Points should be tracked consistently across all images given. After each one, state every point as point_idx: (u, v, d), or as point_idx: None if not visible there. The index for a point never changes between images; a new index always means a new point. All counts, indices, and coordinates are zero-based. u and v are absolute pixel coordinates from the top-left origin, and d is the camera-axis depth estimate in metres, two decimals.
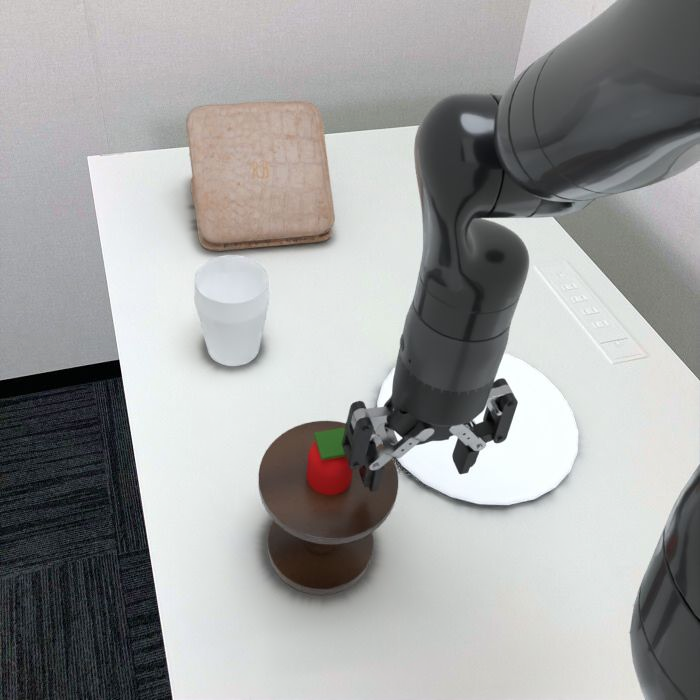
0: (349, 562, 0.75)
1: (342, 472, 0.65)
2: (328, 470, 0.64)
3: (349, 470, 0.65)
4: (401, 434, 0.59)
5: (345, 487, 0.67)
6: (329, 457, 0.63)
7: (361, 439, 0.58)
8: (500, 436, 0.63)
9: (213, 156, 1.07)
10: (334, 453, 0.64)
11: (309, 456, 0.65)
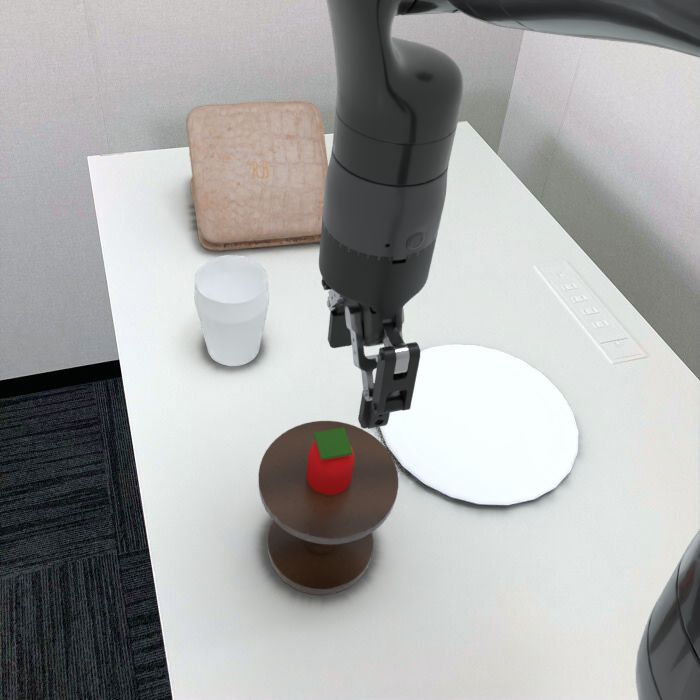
0: (349, 562, 0.75)
1: (342, 472, 0.65)
2: (328, 470, 0.64)
3: (349, 470, 0.65)
4: None
5: (345, 487, 0.67)
6: (329, 457, 0.63)
7: None
8: (375, 402, 0.50)
9: (213, 156, 1.07)
10: (334, 453, 0.64)
11: (309, 456, 0.65)
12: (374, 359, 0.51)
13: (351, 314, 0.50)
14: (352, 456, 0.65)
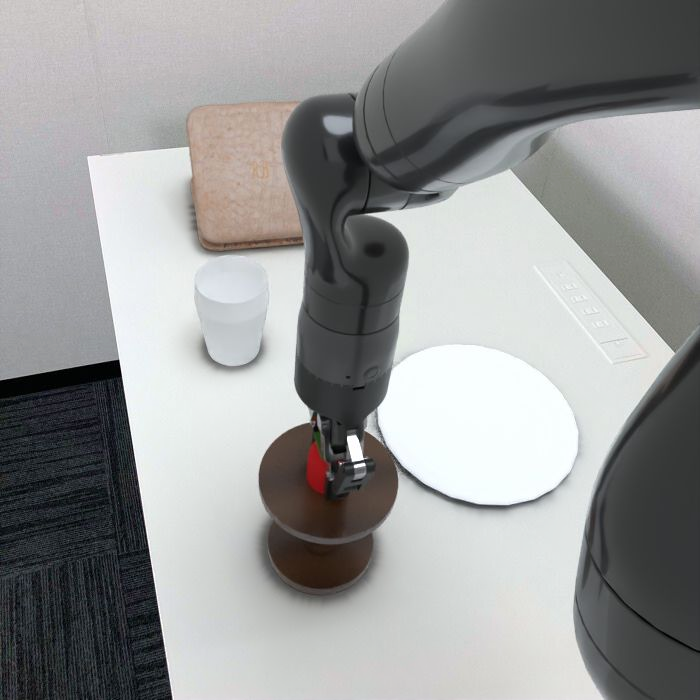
0: (349, 562, 0.75)
1: None
2: None
3: None
4: None
5: None
6: None
7: None
8: (334, 485, 0.61)
9: (213, 156, 1.07)
10: None
11: (309, 456, 0.65)
12: (337, 454, 0.61)
13: (322, 424, 0.59)
14: None
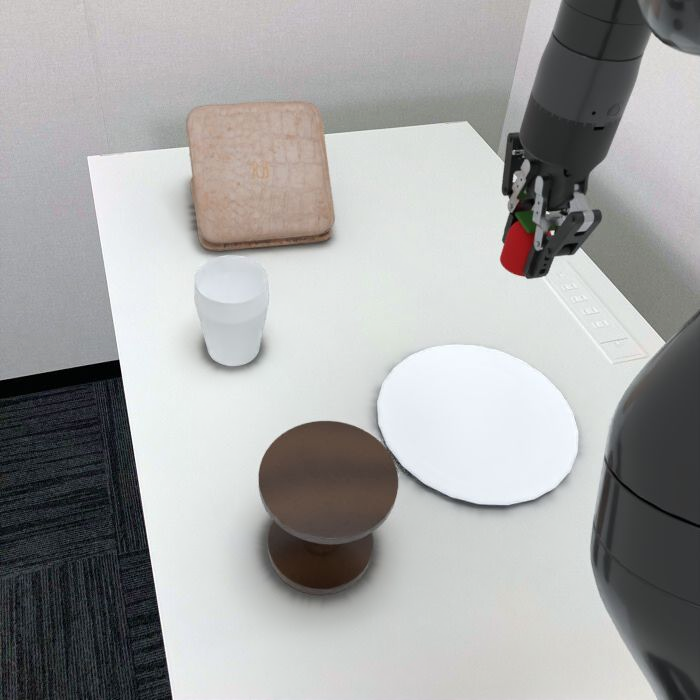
0: (349, 562, 0.75)
1: None
2: (531, 245, 0.68)
3: None
4: None
5: None
6: (535, 230, 0.67)
7: (507, 152, 0.69)
8: (549, 247, 0.64)
9: (213, 156, 1.07)
10: None
11: (510, 236, 0.69)
12: (551, 219, 0.65)
13: (544, 183, 0.63)
14: None
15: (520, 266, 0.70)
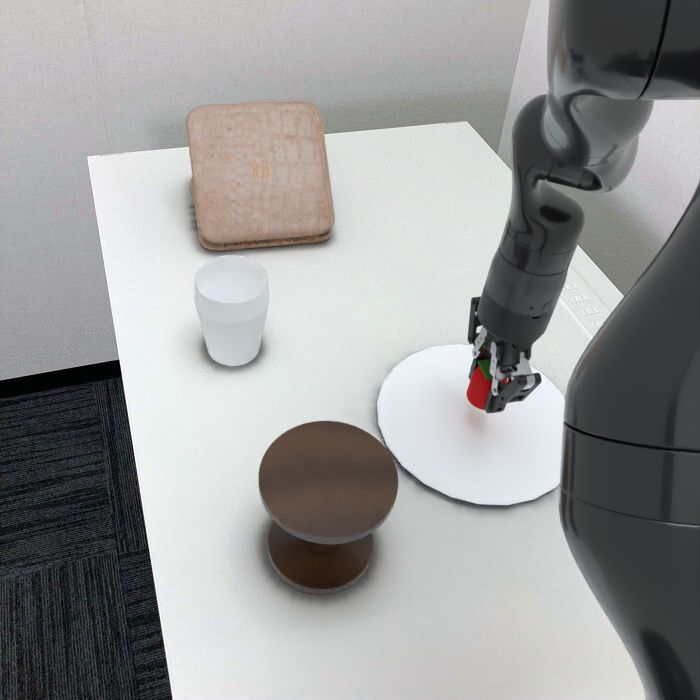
0: (349, 562, 0.75)
1: None
2: None
3: None
4: None
5: None
6: (492, 378, 0.83)
7: (471, 311, 0.85)
8: (502, 397, 0.80)
9: (213, 156, 1.07)
10: None
11: (473, 379, 0.85)
12: (504, 374, 0.81)
13: (497, 348, 0.79)
14: (506, 379, 0.85)
15: (482, 403, 0.86)
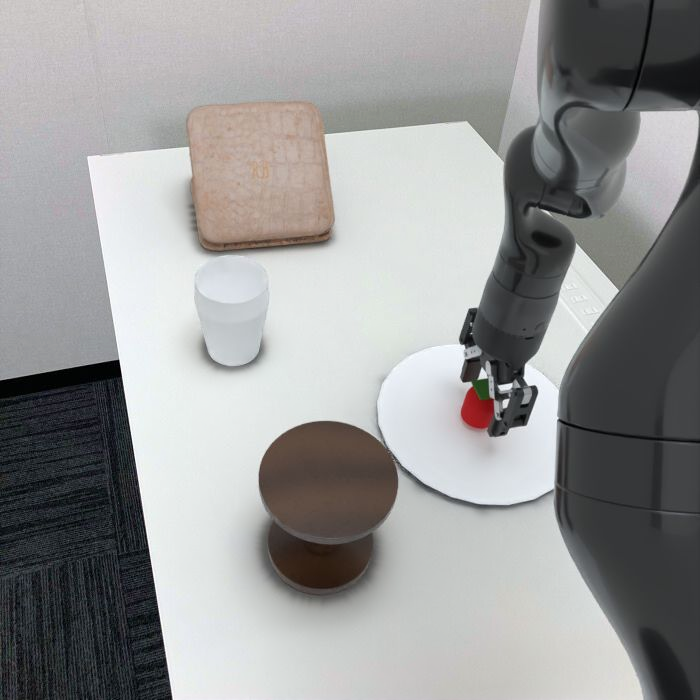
0: (349, 562, 0.75)
1: (493, 410, 0.87)
2: (483, 408, 0.86)
3: None
4: None
5: None
6: (485, 397, 0.86)
7: (467, 319, 0.87)
8: (505, 421, 0.81)
9: (213, 156, 1.07)
10: (489, 395, 0.86)
11: (467, 398, 0.88)
12: (504, 394, 0.81)
13: (491, 365, 0.81)
14: None
15: (475, 421, 0.88)
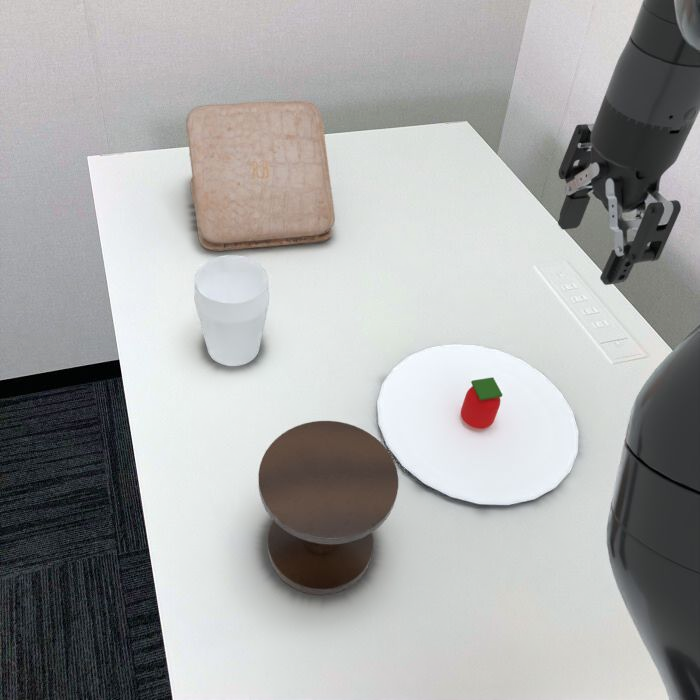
0: (349, 562, 0.75)
1: (493, 410, 0.87)
2: (483, 408, 0.86)
3: (497, 409, 0.87)
4: None
5: (491, 423, 0.89)
6: (485, 397, 0.86)
7: (573, 141, 0.70)
8: (633, 252, 0.64)
9: (213, 156, 1.07)
10: (489, 395, 0.86)
11: (467, 398, 0.88)
12: (629, 221, 0.65)
13: (614, 183, 0.64)
14: (499, 398, 0.87)
15: (475, 421, 0.88)
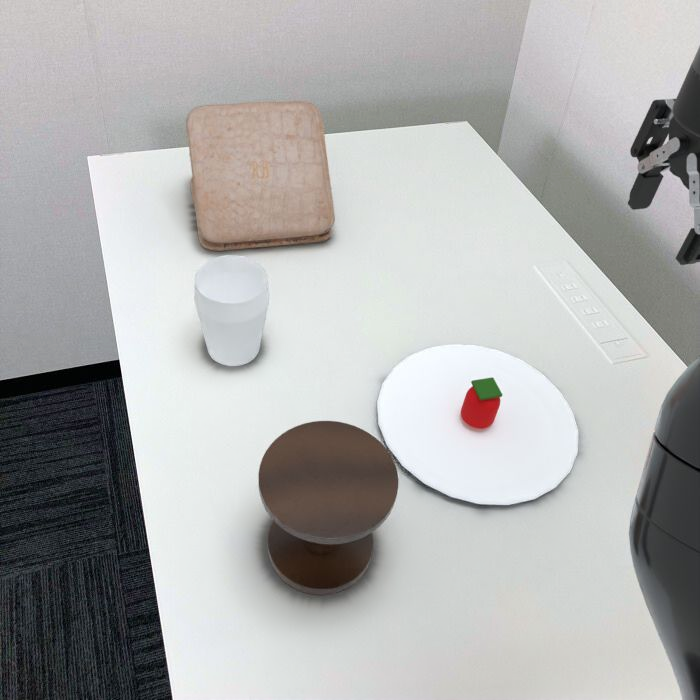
0: (349, 562, 0.75)
1: (493, 410, 0.87)
2: (483, 408, 0.86)
3: (497, 409, 0.87)
4: None
5: (491, 423, 0.89)
6: (485, 397, 0.86)
7: (648, 117, 0.68)
8: None
9: (213, 156, 1.07)
10: (489, 395, 0.86)
11: (467, 398, 0.88)
12: None
13: (697, 158, 0.62)
14: (499, 398, 0.87)
15: (475, 421, 0.88)
